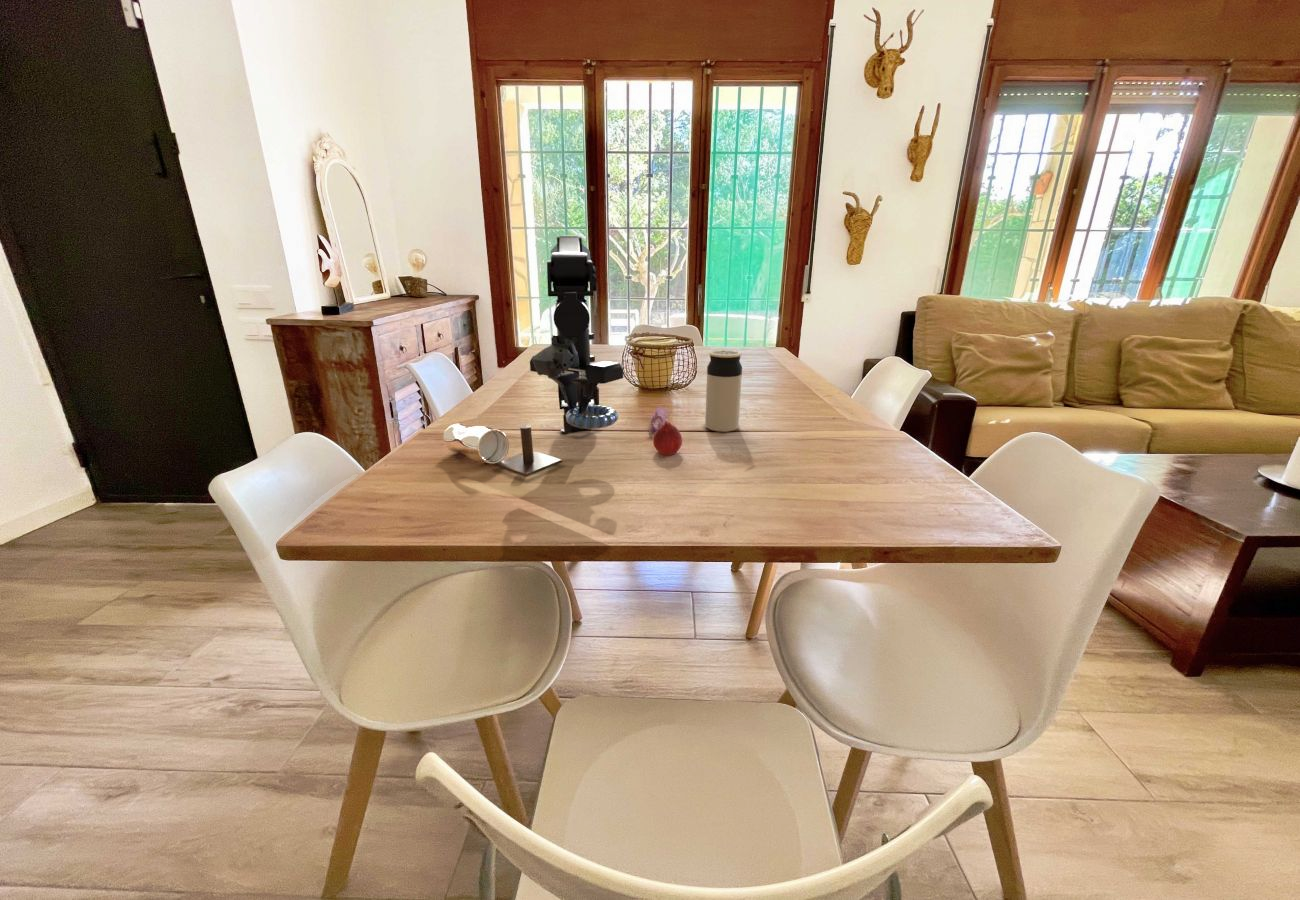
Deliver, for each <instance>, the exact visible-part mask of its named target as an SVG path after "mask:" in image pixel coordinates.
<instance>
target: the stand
mask: <svg viewBox="0 0 1300 900" xmlns="http://www.w3.org/2000/svg"><path fill="white" fill-rule="evenodd" d="M519 429H520V431H519V432H520V439H521V441H520V443H521V451H522V453H518V454H516V455H514V456H511V457H508V458H506V459H505V458H504V459H503V460H502V461H500V462H498V463H495V464H494V466H496V467H498V468H501V469H504V470H507V471H509V472H513V473H515V474H517V475H521V476H524V477H529V476H531V475H534V474H536V473H538V472H540V471H544V470H545V469H548V468H550V467H553V466H555V465H558V464H560V463H562V462H563V459H560V458H558V457H555V456H552V455H549V454H545V453H542V452H539V451H535V450H534V445H533V435H532V434H533V433H532V426H531V425H528V424H526V425H521V426H520V427H519Z"/></svg>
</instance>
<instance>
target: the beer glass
mask: <svg viewBox="0 0 1300 900" xmlns="http://www.w3.org/2000/svg"><path fill="white" fill-rule="evenodd" d="M442 435H443V436H442V442H443V445H444V447H445V448H446V449H447V450H448V451H449V452H450V453H451V452H452V453H454V454H455V453H456V454H457V453H458V454H459V453H461V454H463V455H464V456H465V457H467V458H468V459H470V460H472V461H476V462H479V463H484V464H490V465H495V463H498V462H500V461H502V460H505V458H506V457H507V455H508V453H509V450H510V442H509V438H508V437H507V435H506V434H505V433H504V432H503V431H501V430H499V429H496V428H493V427H489V426H484V425H473V426H466V425H464V424H463V423H454V424H451V425H450V426H448V427H447V428H446V429H445V431H444V433H443V434H442Z"/></svg>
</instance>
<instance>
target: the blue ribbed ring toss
mask: <svg viewBox="0 0 1300 900" xmlns="http://www.w3.org/2000/svg"><path fill="white" fill-rule="evenodd" d="M618 419H619V415H618V412H617V410H616V409H614V408H613V407H610V406H606V405H600V404H599V405H588V406H587V409H586V411H585V413H583V414H580V413H579V408H578V407H575V408H572V409H571V410H569V411H568V412H567V413H566V421H567V422H568V423H569V424H570V425H572V426H574V427H578V428H585V429H589V430H591V429H593V430H594V429H597V430H598V429H603V428H608V427H611V426H613V425H614V424H615V423H617V421H618Z"/></svg>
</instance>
